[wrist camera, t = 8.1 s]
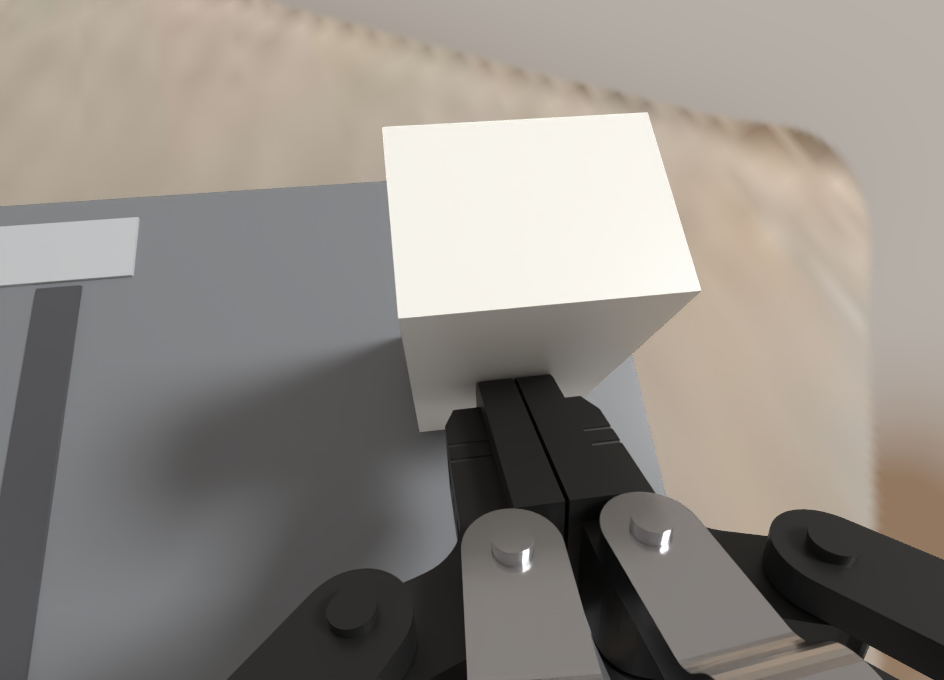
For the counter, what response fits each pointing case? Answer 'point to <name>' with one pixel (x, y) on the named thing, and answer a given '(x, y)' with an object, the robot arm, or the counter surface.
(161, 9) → the counter surface
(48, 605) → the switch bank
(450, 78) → the counter surface
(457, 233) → the block
